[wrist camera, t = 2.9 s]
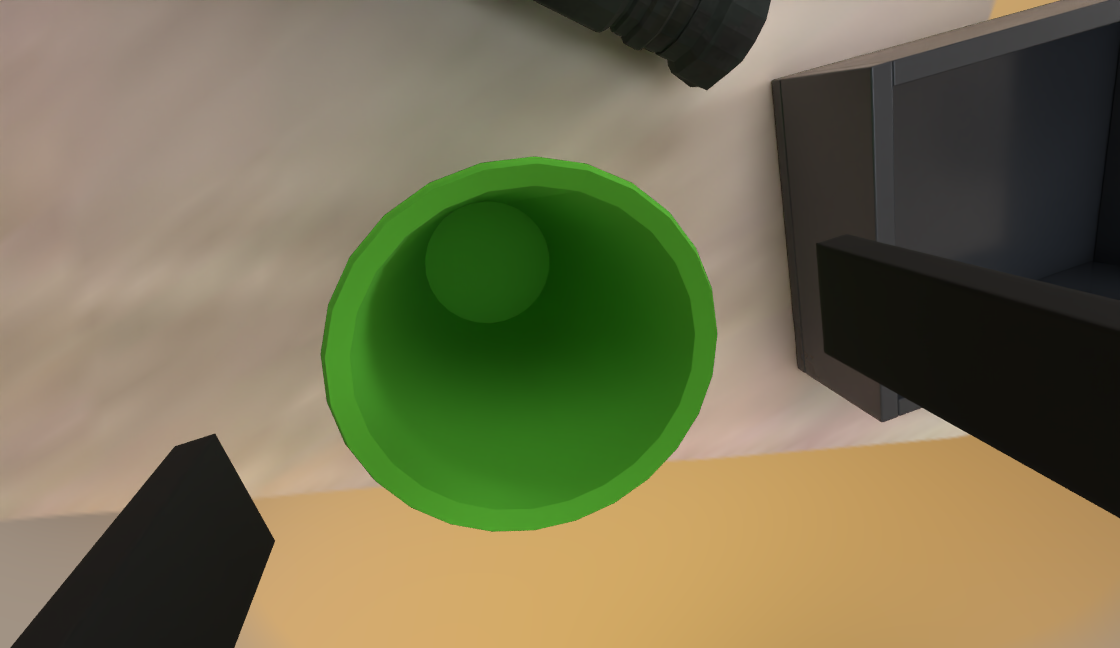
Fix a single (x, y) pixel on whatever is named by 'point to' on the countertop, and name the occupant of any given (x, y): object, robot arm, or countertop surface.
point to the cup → (519, 344)
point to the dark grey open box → (958, 161)
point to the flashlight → (677, 30)
